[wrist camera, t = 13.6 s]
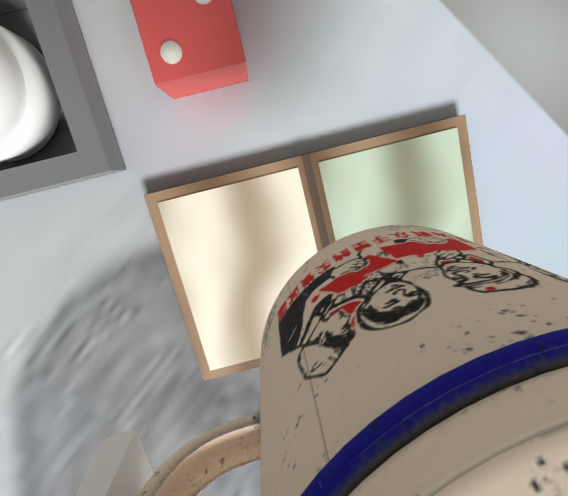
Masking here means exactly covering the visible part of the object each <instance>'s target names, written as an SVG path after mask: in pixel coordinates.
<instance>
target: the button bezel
mask: <svg viewBox="0 0 568 496" xmlns="http://www.w3.org/2000/svg"><path fill="white" fill-rule="evenodd" d="M26 8H27V9H28V12H29V15H30V18H31V21H32V23H33V26H34V29H35V32H36V35H37V38H38V41H39V44H40V46H41V49H42V52H43V55H44V58H45V61H46V64H47V66H48V69H49V72H50V75H51V78H52V81H53V84H54V86H55V89H56V92H57V95H58V98H59V101H60V104H61V106H62V109H63V112H64V115H65V118H66V121H67V124H68V126H69V129H70V132H71V135H72V138H73V141H74V144H75V146H76V149H77V152H74V153H70V154H66V155H62V156H58V157H54V158H50V159H46V160H42V161H38V162H34V163H30V164H26V165H22V166H18V167H14V168H10V169H6V170H2V171H0V201H3V200H7V199H11V198H15V197H19V196H23V195H27V194H31V193H35V192H39V191H43V190H47V189H51V188H55V187H59V186H63V185H67V184H71V183H75V182H79V181H83V180H87V179H91V178H95V177H99V176H103V175H107V174H111V173H115V172H119V171H123V170H126V167H125V164H124V161H123V158H122V155H121V152H120V149H119V146H118V143H117V140H116V137H115V134H114V131H113V127H112V124H111V121H110V118H109V115H108V112H107V109H106V106H105V103H104V100H103V97H102V94H101V91H100V88H99V85H98V82H97V78H96V75H95V72H94V69H93V66H92V63H91V60H90V57H89V54H88V51H87V48H86V45H85V42H84V39H83V36H82V33H81V29H80V26H79V23H78V20H77V17H76V14H75V11H74V8H73V5H72V2H71V0H0V15H1V14H6V13H10V12H14V11H18V10H22V9H26Z"/></svg>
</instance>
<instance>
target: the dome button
mask: <svg viewBox="0 0 568 496" xmlns="http://www.w3.org/2000/svg"><path fill="white" fill-rule="evenodd" d="M60 109H61V104H60V101H59V98H58V95H57V92H56V89H55V86H54V84H53V81H52V78H51V75H50V72H49V69H48V66H47V64H46V61H45V58H44V57H43V55H42V54H41V53H40V52H39V51H38V50H37V49H36V48H35V47H34V46H33V45H32V44H30V43H29V42H28V41H26V40H25V39H24V38H22V37H21V36H19V35H17V34H15V33H13V32H11V31H10V30H8V29H6V28H4V27H2V26H0V163H2V162H13V161H19V160H22V159H25V158H27V157H29V156H31V155H33V154H35V153H36V152H38V151H39V150H40V149H41V148H42V147H44V146H45V145H46V143H47V142H48V141H49V140H50V138H51V137H52V135H53V133H54V132H55V129H56V127H57V124H58V121H59V117H60Z"/></svg>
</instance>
